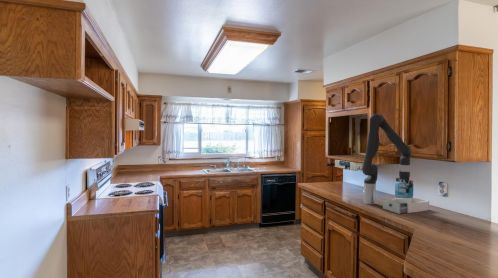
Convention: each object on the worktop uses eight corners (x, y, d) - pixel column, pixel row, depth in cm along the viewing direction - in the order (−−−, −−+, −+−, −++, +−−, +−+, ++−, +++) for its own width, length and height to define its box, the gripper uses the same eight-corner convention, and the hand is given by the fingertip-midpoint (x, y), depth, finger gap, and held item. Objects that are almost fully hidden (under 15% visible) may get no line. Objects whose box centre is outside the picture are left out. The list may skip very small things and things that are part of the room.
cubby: (391, 207, 232) (392, 199, 231) (411, 205, 240) (412, 196, 239) (408, 212, 218) (408, 203, 217) (428, 210, 226) (429, 201, 226)
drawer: (381, 208, 228) (381, 199, 228) (403, 206, 236) (403, 197, 236) (397, 214, 214) (397, 204, 214) (420, 211, 222) (420, 201, 222)
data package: (397, 198, 223) (398, 182, 223) (394, 196, 228) (395, 181, 227) (413, 198, 224) (413, 182, 223) (409, 196, 228) (410, 181, 228)
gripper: (393, 169, 230) (392, 190, 231) (409, 172, 217) (408, 194, 217) (400, 169, 233) (399, 190, 234) (416, 171, 220) (415, 193, 220)
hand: (404, 192), depth 226 cm, fingers closed on data package, 5 cm apart
